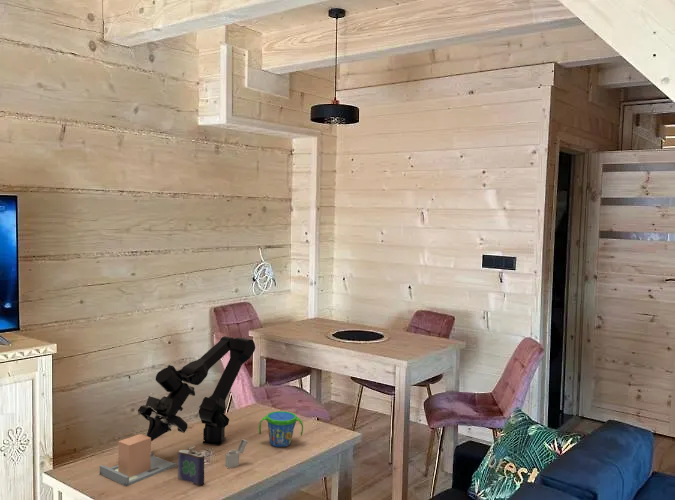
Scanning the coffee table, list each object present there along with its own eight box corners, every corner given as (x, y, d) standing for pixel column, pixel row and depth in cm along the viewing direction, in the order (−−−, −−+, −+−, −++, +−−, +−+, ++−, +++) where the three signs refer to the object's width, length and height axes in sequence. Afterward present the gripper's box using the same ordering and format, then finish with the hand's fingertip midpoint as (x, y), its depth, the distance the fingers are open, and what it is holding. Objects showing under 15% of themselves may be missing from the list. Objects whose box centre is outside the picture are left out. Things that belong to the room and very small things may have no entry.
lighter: (227, 468, 191) (228, 444, 191) (225, 467, 192) (225, 442, 192) (247, 463, 196) (247, 439, 195) (244, 461, 197) (245, 437, 196)
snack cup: (304, 439, 218) (305, 412, 217) (300, 451, 207) (301, 422, 207) (261, 437, 219) (262, 409, 218) (255, 448, 208) (256, 419, 208)
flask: (175, 480, 182) (176, 445, 181) (182, 476, 185) (183, 442, 184) (200, 487, 178) (201, 451, 177) (206, 483, 181) (207, 448, 180)
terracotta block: (140, 464, 190) (140, 433, 190) (150, 469, 188) (151, 437, 187) (118, 473, 184) (118, 441, 183) (128, 477, 181) (128, 445, 180)
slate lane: (151, 456, 199) (151, 447, 199) (177, 466, 191) (177, 457, 191) (99, 475, 183) (99, 465, 183) (126, 487, 176) (126, 477, 176)
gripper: (143, 380, 197) (112, 422, 189) (181, 391, 187) (151, 436, 178) (161, 398, 204) (133, 440, 196) (199, 410, 194) (171, 454, 185)
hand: (146, 442), depth 189 cm, fingers closed
